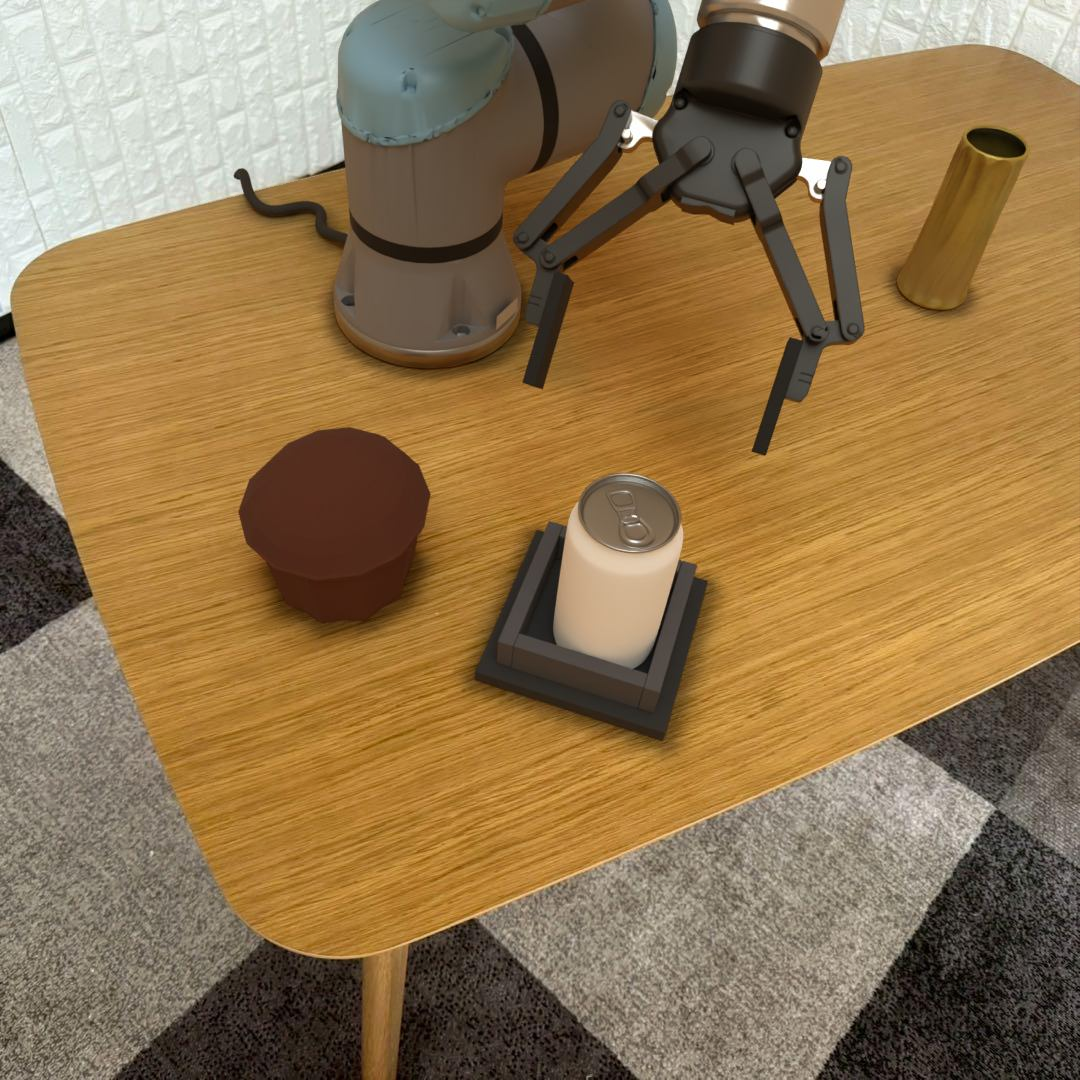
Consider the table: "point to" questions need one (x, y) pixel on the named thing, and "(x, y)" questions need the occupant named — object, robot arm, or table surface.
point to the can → (617, 568)
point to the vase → (963, 217)
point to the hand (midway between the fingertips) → (643, 420)
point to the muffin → (337, 521)
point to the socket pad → (578, 679)
